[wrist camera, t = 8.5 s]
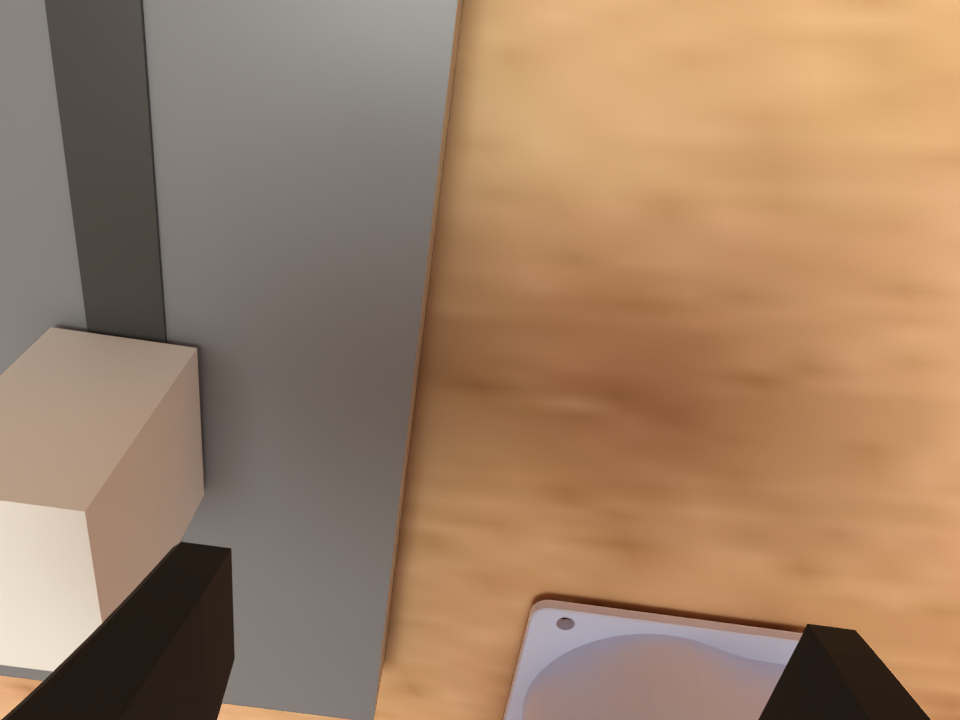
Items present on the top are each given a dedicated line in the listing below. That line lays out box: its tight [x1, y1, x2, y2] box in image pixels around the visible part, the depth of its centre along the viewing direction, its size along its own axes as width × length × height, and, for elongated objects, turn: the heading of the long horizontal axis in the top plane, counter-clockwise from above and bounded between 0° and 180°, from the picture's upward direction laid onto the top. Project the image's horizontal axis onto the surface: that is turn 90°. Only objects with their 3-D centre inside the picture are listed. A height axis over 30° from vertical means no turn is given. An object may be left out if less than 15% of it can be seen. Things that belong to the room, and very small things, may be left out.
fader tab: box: [0, 327, 204, 671], centre depth 15 cm, size 3×4×5 cm
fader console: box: [0, 0, 463, 720], centre depth 17 cm, size 12×26×2 cm, turn 172°
